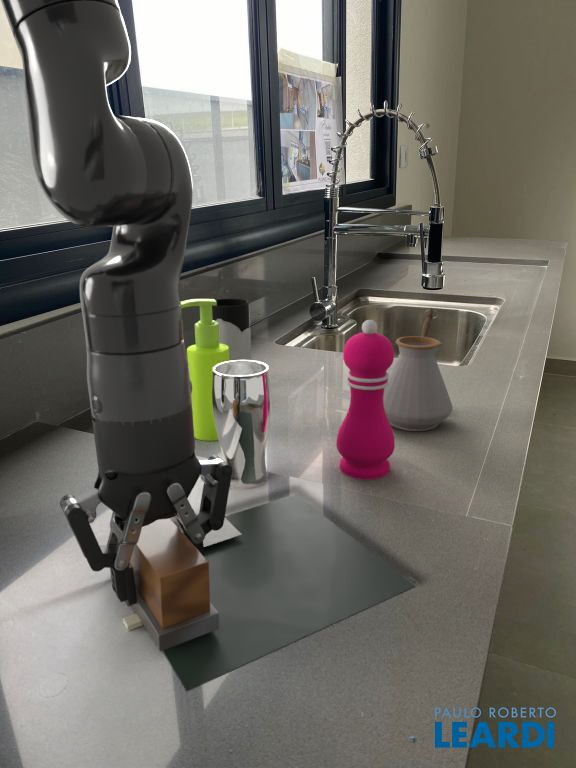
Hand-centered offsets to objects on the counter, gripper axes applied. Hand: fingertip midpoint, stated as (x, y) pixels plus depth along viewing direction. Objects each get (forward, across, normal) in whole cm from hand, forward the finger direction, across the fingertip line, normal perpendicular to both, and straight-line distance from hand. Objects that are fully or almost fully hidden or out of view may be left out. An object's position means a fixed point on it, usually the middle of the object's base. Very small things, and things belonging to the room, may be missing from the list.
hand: (160, 587), depth 51 cm
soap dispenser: (+3, -20, -34) cm, 40 cm away
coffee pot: (+3, -53, -24) cm, 58 cm away
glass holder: (+3, -37, -56) cm, 67 cm away
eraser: (+1, 0, 0) cm, 1 cm away
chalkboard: (+3, -9, 0) cm, 9 cm away
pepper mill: (+3, -31, -11) cm, 33 cm away
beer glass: (+3, -17, -17) cm, 24 cm away
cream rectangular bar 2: (+2, +2, +1) cm, 3 cm away
